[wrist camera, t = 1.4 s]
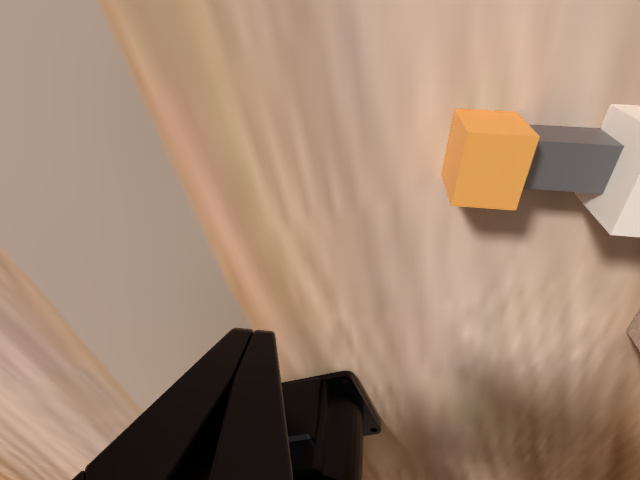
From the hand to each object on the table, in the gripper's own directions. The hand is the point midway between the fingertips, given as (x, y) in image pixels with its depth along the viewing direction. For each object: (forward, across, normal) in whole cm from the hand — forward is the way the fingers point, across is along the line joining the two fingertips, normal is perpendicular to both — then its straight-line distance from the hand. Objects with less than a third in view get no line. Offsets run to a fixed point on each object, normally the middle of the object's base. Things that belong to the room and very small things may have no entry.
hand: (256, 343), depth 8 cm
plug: (+12, -10, 0) cm, 16 cm away
